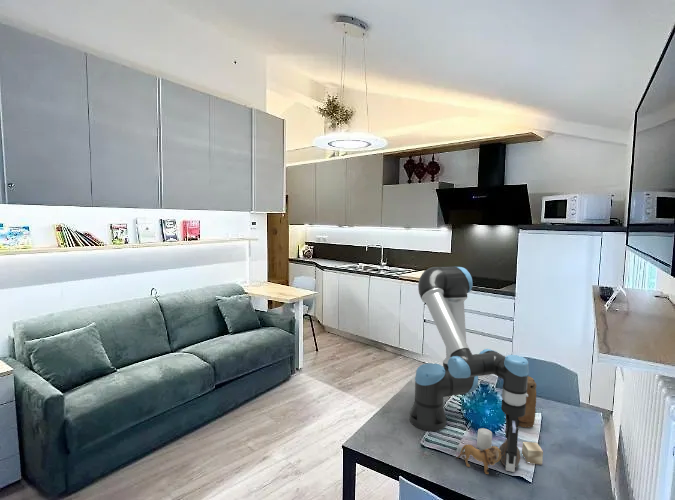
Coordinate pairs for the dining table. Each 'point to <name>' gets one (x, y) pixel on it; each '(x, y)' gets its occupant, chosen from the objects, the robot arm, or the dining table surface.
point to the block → (529, 405)
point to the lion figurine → (481, 455)
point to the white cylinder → (484, 439)
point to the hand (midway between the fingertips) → (509, 463)
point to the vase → (503, 455)
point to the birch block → (532, 452)
